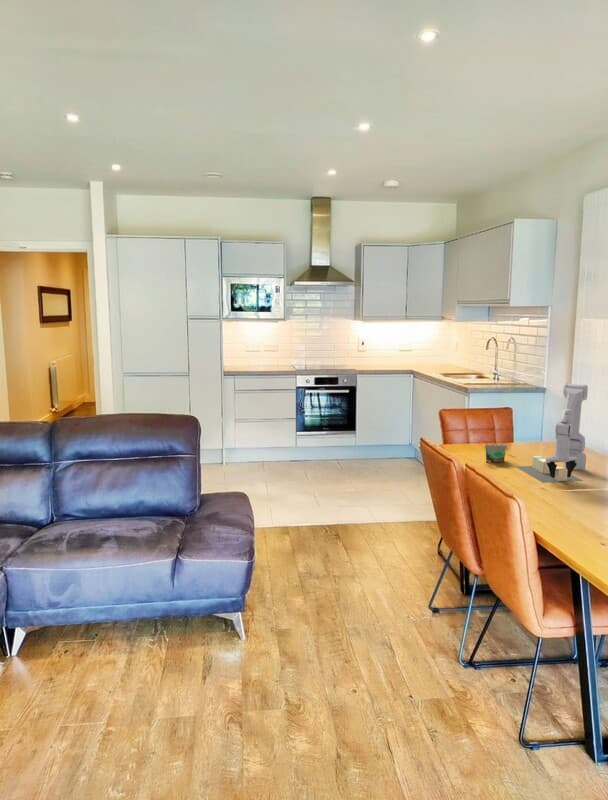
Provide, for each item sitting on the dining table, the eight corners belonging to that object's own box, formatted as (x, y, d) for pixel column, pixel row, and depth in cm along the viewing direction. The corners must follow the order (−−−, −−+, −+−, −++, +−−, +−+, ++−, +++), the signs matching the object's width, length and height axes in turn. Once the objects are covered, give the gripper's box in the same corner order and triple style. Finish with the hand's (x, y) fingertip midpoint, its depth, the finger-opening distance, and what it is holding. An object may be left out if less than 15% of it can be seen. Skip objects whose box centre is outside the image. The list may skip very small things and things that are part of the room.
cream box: (540, 466, 277) (540, 456, 276) (552, 473, 266) (553, 462, 265) (531, 467, 276) (532, 456, 275) (543, 473, 266) (544, 462, 265)
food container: (490, 466, 281) (491, 447, 280) (483, 462, 287) (484, 444, 286) (511, 464, 285) (512, 445, 283) (504, 461, 290) (505, 442, 289)
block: (560, 477, 259) (561, 466, 258) (566, 480, 254) (567, 469, 253) (552, 477, 258) (552, 466, 258) (558, 481, 254) (558, 469, 253)
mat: (552, 466, 280) (552, 465, 280) (583, 482, 254) (583, 481, 254) (515, 468, 278) (515, 466, 277) (542, 484, 252) (542, 482, 252)
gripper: (552, 451, 249) (550, 480, 251) (582, 450, 250) (580, 479, 252) (543, 447, 255) (541, 475, 258) (573, 446, 257) (571, 474, 259)
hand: (560, 477), depth 255 cm, fingers open, 7 cm apart
